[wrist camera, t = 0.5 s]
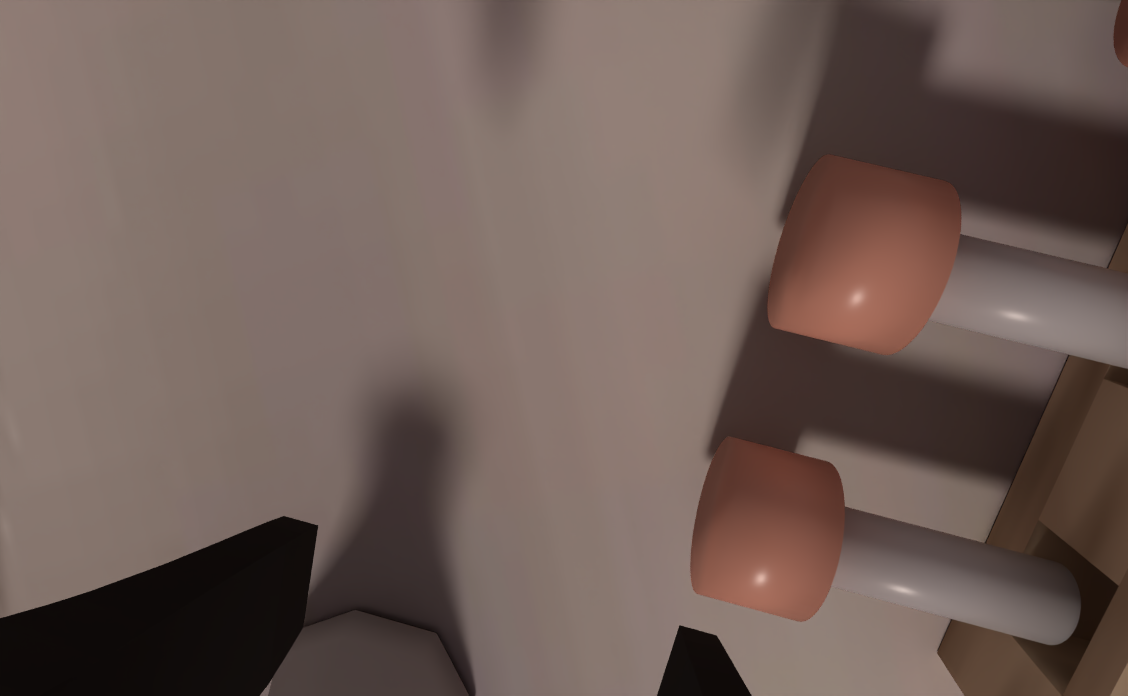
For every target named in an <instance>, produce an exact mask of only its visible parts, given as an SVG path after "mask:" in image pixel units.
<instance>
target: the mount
mask: <svg viewBox="0 0 1128 696" xmlns="http://www.w3.org/2000/svg"><path fill="white" fill-rule="evenodd" d="M1108 269H1111V270H1115V271H1120V272H1124V273H1128V224H1127V227H1126V229H1125V231H1124V233H1123V236H1122V238H1121V240H1120V242H1119V245H1118V247H1117V249H1116V251H1115V254H1114V256H1113V258H1112V260H1111V263H1110V265H1109V267H1108ZM986 544H990V545H993V546H997V547H1001V548H1005V549H1009V550H1013V551H1016V552H1020V553H1024V554H1028V555H1032V556H1036V557H1039V558H1043V559H1047V560H1051V561H1055V562H1058V563H1060V564H1062V565H1064V566H1065V567H1066V568H1067V569H1068V570H1069V571H1070V572H1071V573H1072V575H1073V576H1074V578H1075V580H1076V582H1077V585H1078V588H1079V592H1080V598H1081V611H1080V617H1079V621H1078V624H1077V626H1076V628H1075V630H1074V632H1073V633H1072V635H1071V636H1070V637H1069V638H1068V639H1067V640H1066V641H1064V642H1063V643H1060V644H1058V645H1046V644H1043V643H1039V642H1035V641H1031V640H1028V639H1024V638H1020V637H1017V636H1013V635H1009V634H1005V633H1002V632H998V631H994V630H991V629H987V628H983V627H979V626H976V625H972V624H968V623H965V622H961V621H957V620H953V619H952V621H951V623H950V625H949V627H948V630H947V632H946V634H945V636H944V639H943V641H942V643H941V645H940V648H939V650H938V652H937V654H938V655H939V657H940V658H941V660H942V661H943V663H944V665H945V666H946V668H947V669H948V671H949V672H950V674H951V675H952V677H953V679H954V680H955V682H956V683H957V685H958V686H959V688H960V689H961V691H962V693H963V694H964V696H1128V369H1126V368H1122V367H1118V366H1114V365H1110V364H1106V363H1101V362H1097V361H1093V360H1089V359H1085V358H1081V357H1077V356H1073V355H1069V357H1068V360H1067V362H1066V364H1065V366H1064V369H1063V371H1062V373H1061V375H1060V378H1059V380H1058V382H1057V384H1056V387H1055V389H1054V391H1053V393H1052V396H1051V398H1050V400H1049V402H1048V405H1047V407H1046V409H1045V411H1044V414H1043V416H1042V418H1041V420H1040V423H1039V425H1038V427H1037V429H1036V432H1035V434H1034V436H1033V438H1032V441H1031V443H1030V445H1029V447H1028V450H1027V452H1026V454H1025V456H1024V459H1023V461H1022V463H1021V465H1020V468H1019V470H1018V472H1017V474H1016V477H1015V479H1014V481H1013V483H1012V486H1011V488H1010V490H1009V492H1008V495H1007V497H1006V499H1005V501H1004V504H1003V506H1002V508H1001V510H1000V513H999V515H998V517H997V519H996V522H995V524H994V526H993V528H992V531H991V533H990V535H989V537H988V540H987V542H986Z"/></svg>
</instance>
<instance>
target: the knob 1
mask: <svg viewBox="0 0 1128 696" xmlns="http://www.w3.org/2000/svg"><path fill="white" fill-rule="evenodd" d="M960 231H961V205H960V199H959V196H958V193H957V191H956V189H955V188H954V186H953V185H952V184H951V183H949V182H947V181H944V180H939V179H935V178H931V177H926V176H922V175H918V174H913V173H909V172H905V171H900V170H896V169H892V168H887V167H883V166H878V165H874V164H870V163H865V162H861V161H857V160H852V159H848V158H844V157H839V156H835V155H831V154H826V155H824V156H822V157H821V158H820V159H819V160H818V161H817V162H816V163H815V165H814V166H813V167H812V168H811V170H810V172H809V173H808V175H807V176H806V178H805V180H804V182H803V183H802V185H801V187H800V189H799V191H798V194H797V196H796V198H795V200H794V202H793V205H792V207H791V210H790V212H789V215H788V217H787V220H786V223H785V226H784V228H783V232H782V235H781V238H780V241H779V244H778V248H777V252H776V255H775V259H774V263H773V268H772V273H771V278H770V284H769V291H768V305H767V310H768V319H769V322H770V325H771V326H772V327H773V328H776V329H780V330H784V331H788V332H792V333H796V334H800V335H804V336H808V337H812V338H816V339H820V340H824V341H829V342H833V343H837V344H841V345H845V346H849V347H853V348H857V349H861V350H865V351H869V352H873V353H877V354H881V355H891V354H894V353H896V352H898V351H900V350H901V349H903V348H904V347H906V346H907V345H908V344H909V343H910V342H911V341H912V340H913V339H914V338H915V337H916V336H917V335H918V333H919V332H920V331H921V330H922V328H923V327H924V326H925V324H926V323H927V321H932V322H936V323H941V324H945V325H949V326H953V327H957V328H961V329H965V330H969V331H974V332H978V333H982V334H986V335H990V336H994V337H998V338H1002V339H1007V340H1011V341H1015V342H1019V343H1023V344H1027V345H1031V346H1035V347H1040V348H1044V349H1048V350H1052V351H1056V352H1060V353H1064V354H1068V355H1073V356H1077V357H1081V358H1085V359H1089V360H1093V361H1097V362H1101V363H1106V364H1110V365H1114V366H1118V367H1122V368H1126V369H1128V273H1124V272H1120V271H1115V270H1111V269H1107V268H1103V267H1098V266H1094V265H1090V264H1086V263H1081V262H1077V261H1073V260H1068V259H1064V258H1060V257H1056V256H1051V255H1047V254H1043V253H1039V252H1034V251H1030V250H1026V249H1021V248H1017V247H1013V246H1009V245H1004V244H1000V243H996V242H992V241H987V240H983V239H979V238H974V237H970V236H966V235H962V234H960Z"/></svg>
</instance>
